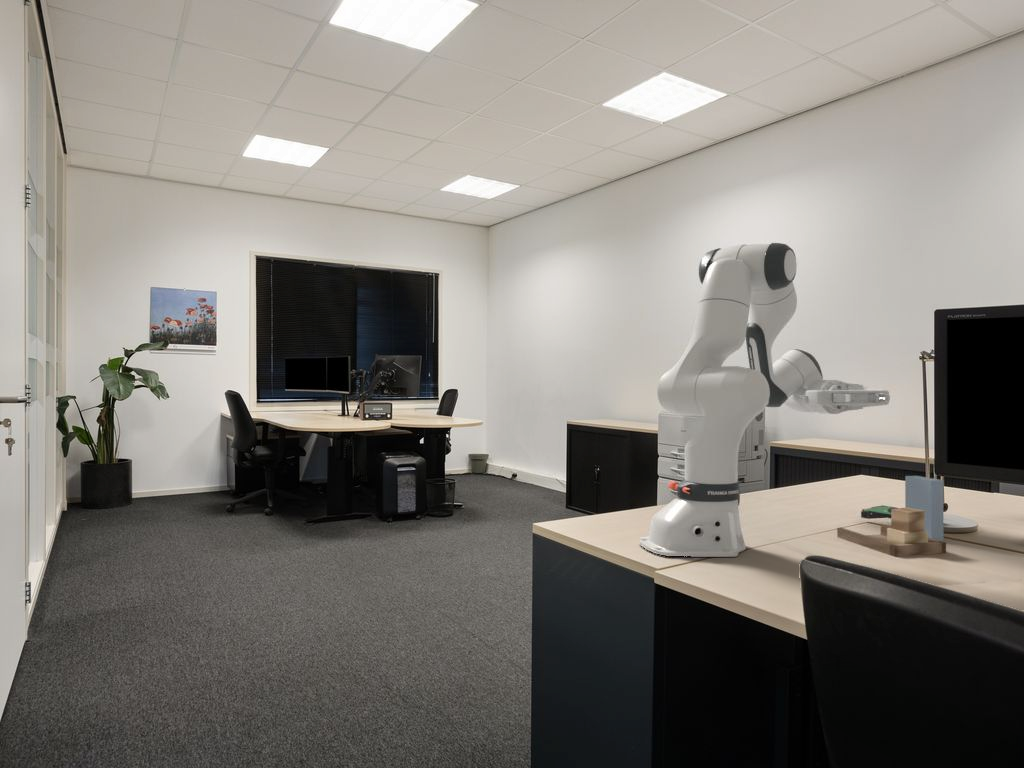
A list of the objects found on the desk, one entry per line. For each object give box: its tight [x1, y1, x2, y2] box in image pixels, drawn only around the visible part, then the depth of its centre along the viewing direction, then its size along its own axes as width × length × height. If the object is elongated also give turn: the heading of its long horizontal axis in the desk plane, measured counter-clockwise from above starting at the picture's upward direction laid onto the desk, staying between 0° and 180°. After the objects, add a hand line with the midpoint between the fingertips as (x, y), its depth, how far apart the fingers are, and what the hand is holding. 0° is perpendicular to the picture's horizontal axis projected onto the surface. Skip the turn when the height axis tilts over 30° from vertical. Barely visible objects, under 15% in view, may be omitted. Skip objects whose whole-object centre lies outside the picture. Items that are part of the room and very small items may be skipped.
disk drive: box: [860, 504, 898, 520], centre depth 164 cm, size 10×3×15 cm
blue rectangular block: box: [904, 475, 944, 542], centre depth 140 cm, size 3×7×14 cm, turn 11°
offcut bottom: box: [887, 528, 928, 544], centre depth 130 cm, size 6×4×4 cm
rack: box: [836, 524, 947, 557], centre depth 134 cm, size 12×16×4 cm
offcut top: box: [890, 507, 925, 533], centre depth 130 cm, size 4×4×4 cm
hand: (870, 398), depth 153 cm, fingers open, 8 cm apart
